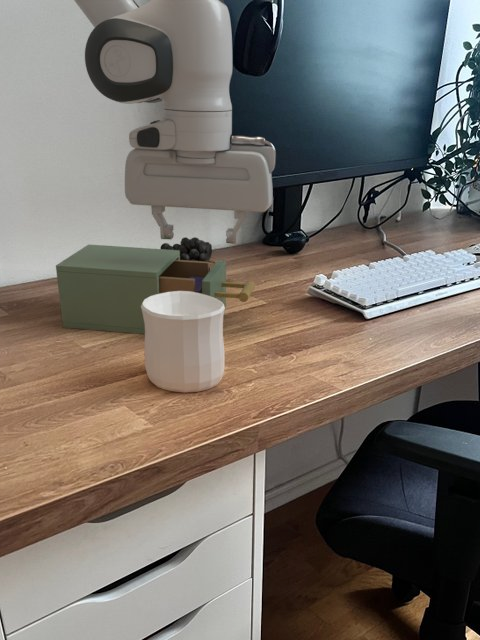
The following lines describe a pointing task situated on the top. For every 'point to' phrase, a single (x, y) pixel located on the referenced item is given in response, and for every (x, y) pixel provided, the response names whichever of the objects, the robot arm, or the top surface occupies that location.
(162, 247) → the fruit
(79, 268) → the cabinet
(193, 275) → the drawer
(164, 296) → the cup
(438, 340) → the top surface
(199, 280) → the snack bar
